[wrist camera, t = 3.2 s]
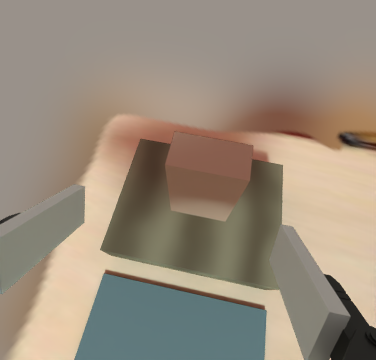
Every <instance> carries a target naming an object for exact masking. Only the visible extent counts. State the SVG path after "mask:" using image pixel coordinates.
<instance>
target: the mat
mask: <svg viewBox="0 0 376 360" xmlns="http://www.w3.org/2000/svg"><path fill="white" fill-rule="evenodd" d="M265 333H266V310H262V309H258V308H253V307H249V306H245V305H240V304H236V303H231V302H227V301H223V300H218V299H214V298H210V297H205V296H201V295H196V294H192V293H188V292H183V291H179V290H174V289H170V288H166V287H161V286H157V285H153V284H148V283H144V282H139V281H135V280H131V279H126V278H122V277H118V276H113V275H109V274H104V275H103V278H102V280H101V283H100V286H99V289H98V292H97V295H96V298H95V301H94V304H93V307H92V310H91V313H90V316H89V318H88V321H87V324H86V327H85V330H84V333H83V336H82V339H81V342H80V345H79V348H78V351H77V354H76V356H75V359H74V360H264V355H265Z"/></svg>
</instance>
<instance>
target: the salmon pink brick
mask: <svg viewBox="0 0 376 360" xmlns="http://www.w3.org/2000/svg"><path fill="white" fill-rule="evenodd" d="M252 154H253V145H248V144H242V143H237V142H231V141H226V140H220V139H215V138H209V137H203V136H198V135H192V134H187V133H181V132H176V131H175V132H174V135H173V139H172V142H171V146H170V149H169V153H168V156H167V159H166V163H165V169H166V176H167V184H168V191H169V199H170V207H171V211H176V212H181V213H185V214H190V215H195V216H200V217H205V218H210V219H215V220H220V221H226V220H227V218H228V216H229V215H230V213H231V211H232V210H233V208H234V206H235V205H236V203H237V202H238V200H239V198H240V197H241V195H242V193H243V192H244V190H245V188H246V187H247V185H248V183H249V182H250V176H251V165H252Z"/></svg>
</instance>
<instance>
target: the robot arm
mask: <svg viewBox="0 0 376 360" xmlns="http://www.w3.org/2000/svg"><path fill="white" fill-rule="evenodd" d="M84 209H85V186H80V185H75V184H74V185H72V186H70V187H68V188H66V189H65V190H63V191H61V192H59V193H57V194H55V195H53V196H52V197H50V198H48V199H46V200H44V201H42V202H41V203H39V204H37V205H35V206H33V207H31V208H30V209H28V210H26V211H24V212H22V213H18V214H14V215H11V216H8V217H6V218H5V219H3V220H1V221H0V294H3V293H4V292H5V291H6V290H8V289H9V288H10V287H11V286H12V285H13V284H15V283H16V282H17V281H18V280H19V279H20V278H21V277H22V276H24V275H25V274H26V273H27V272H28V271H29V270H30V269H32V268H33V267H34V266H35V265H36V264H37V263H38V262H40V261H41V260H42V259H43V258H44V257H45V256H46V255H48V254H49V253H50V252H51V251H52V250H53V249H54V248H56V247H57V246H58V245H59V244H60V243H61V242H62V241H64V240H65V239H66V238H67V237H68V236H69V235H70V234H72V233H73V232H74V231H75V230H76V229H77V228H78V227H80V226H81V225H82V224H83V223H84ZM269 261H270V264H271V266H272V269H273V272H274V275H275V278H276V281H277V284H278V286H279V289H280V292H281V295H282V298H283V301H284V303H285V306H286V309H287V312H288V315H289V318H290V321H291V323H292V326H293V329H294V332H295V335H296V338H297V341H298V343H299V346H300V349H301V352H302V355H303V358H304V360H329V359H330V358H331V360H376V328H374V327H372V326H369V324H368V323H367V322H366V320H365V319H364V317H363V316H362V315H361V313H360V312H359V310H358V309H357V307H356V306H355V305H354V303H353V302H352V301H351V299H350V297H349V296H348V295H347V294H346V292H345V290H344V289H343V288H342V286H341V285H340V283H338V282H337V281H336V280H335V279H334V278H333V277H332V276H330V275H326V274H323V273H322V271H321V270H320V268H319V266H318V265H317V263H316V262H315V260H314V259H313V257H312V256H311V254H310V253H309V251H308V249H307V248H306V246H305V245H304V243H303V242H302V240H301V239H300V237H299V235H298V234H297V232H296V231H295V229H294V228H293V227H292V226H287V225H280V228H279V231H278V234H277V238H276V241H275V244H274V247H273V250H272V253H271V256H270V259H269Z"/></svg>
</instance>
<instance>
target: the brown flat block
mask: <svg viewBox="0 0 376 360" xmlns="http://www.w3.org/2000/svg"><path fill="white" fill-rule="evenodd" d="M170 146H171V144H166V143H161V142H155V141H150V140H145V139H140V142H139V145H138V147H137V150H136V153H135V156H134V158H133V161H132V164H131V167H130V169H129V172H128V175H127V178H126V180H125V183H124V186H123V189H122V191H121V194H120V197H119V200H118V202H117V205H116V208H115V211H114V213H113V216H112V219H111V222H110V224H109V227H108V230H107V232H106V235H105V238H104V241H103V243H102V246H101V249H100V250H102V251H104V252H105V253H107V254H109V255H111V256H115V257H120V258H124V259H129V260H133V261H138V262H142V263H147V264H151V265H156V266H160V267H165V268H169V269H174V270H178V271H183V272H187V273H192V274H196V275H201V276H205V277H210V278H214V279H219V280H223V281H228V282H232V283H237V284H241V285H246V286H250V287H255V288H259V289H264V290H279V286H278V284H277V281H276V278H275V275H274V272H273V269H272V266H271V264H270V261H269V259H270V256H271V253H272V250H273V247H274V244H275V241H276V238H277V234H278V231H279V228H280V225H282V185H283V165H280V164H274V163H269V162H264V161H258V160H253V159H252V165H251V176H250V182H249V183H248V185H247V187H246V188H245V190H244V192H243V193H242V195H241V197H240V198H239V200H238V202H237V203H236V205H235V206H234V208H233V210H232V211H231V213H230V215H229V216H228V218H227V220H226V221H220V220H215V219H210V218H205V217H200V216H195V215H190V214H185V213H181V212H176V211H171V207H170V199H169V191H168V184H167V176H166V169H165V163H166V159H167V156H168V153H169V149H170Z"/></svg>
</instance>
